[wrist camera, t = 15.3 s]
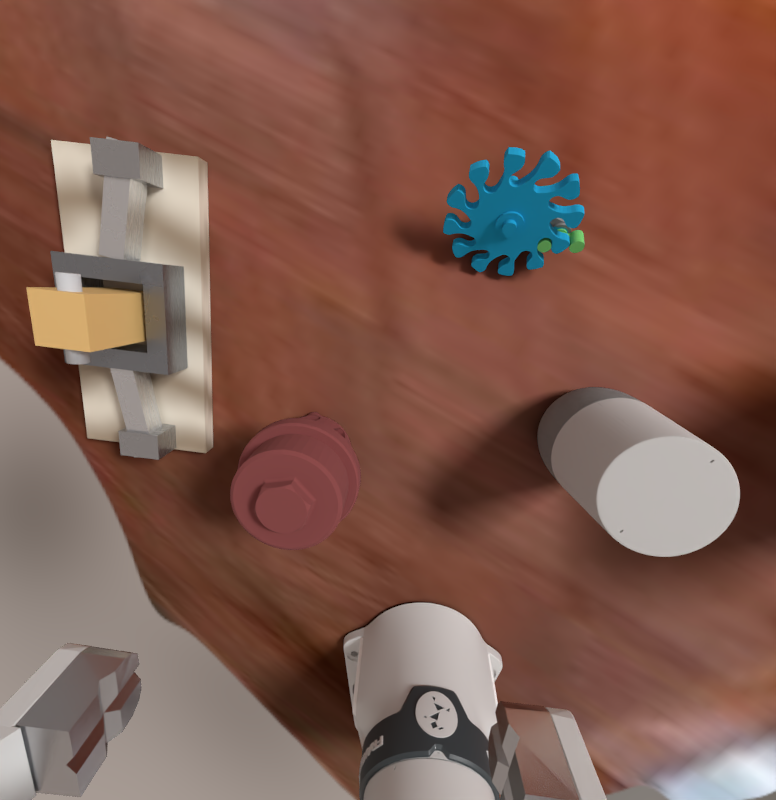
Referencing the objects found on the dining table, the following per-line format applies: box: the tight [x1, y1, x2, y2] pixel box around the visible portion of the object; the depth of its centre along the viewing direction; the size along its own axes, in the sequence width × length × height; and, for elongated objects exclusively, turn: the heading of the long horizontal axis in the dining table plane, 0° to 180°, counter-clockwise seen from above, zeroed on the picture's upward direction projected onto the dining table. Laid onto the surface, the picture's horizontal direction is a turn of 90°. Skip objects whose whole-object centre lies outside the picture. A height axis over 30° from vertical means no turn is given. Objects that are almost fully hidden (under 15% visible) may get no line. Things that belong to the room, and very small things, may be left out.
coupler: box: [26, 272, 147, 364], centre depth 30 cm, size 6×4×8 cm, turn 173°
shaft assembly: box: [51, 137, 188, 460], centre depth 33 cm, size 26×9×3 cm, turn 173°
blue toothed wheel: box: [443, 147, 584, 276], centre depth 30 cm, size 11×6×10 cm
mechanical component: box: [230, 412, 361, 550], centre depth 33 cm, size 12×10×10 cm
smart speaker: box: [537, 387, 740, 557], centre depth 30 cm, size 10×9×14 cm
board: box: [51, 140, 213, 453], centre depth 35 cm, size 26×12×2 cm, turn 173°
